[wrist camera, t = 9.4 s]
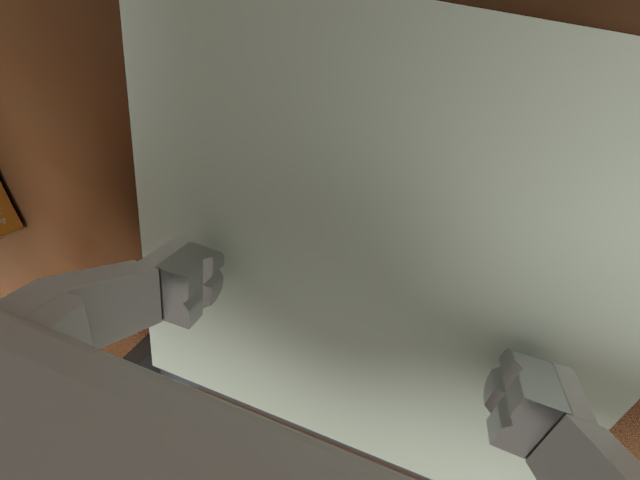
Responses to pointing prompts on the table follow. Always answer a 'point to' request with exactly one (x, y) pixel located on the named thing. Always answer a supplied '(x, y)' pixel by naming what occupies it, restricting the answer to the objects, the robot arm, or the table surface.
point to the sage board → (392, 210)
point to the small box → (8, 216)
